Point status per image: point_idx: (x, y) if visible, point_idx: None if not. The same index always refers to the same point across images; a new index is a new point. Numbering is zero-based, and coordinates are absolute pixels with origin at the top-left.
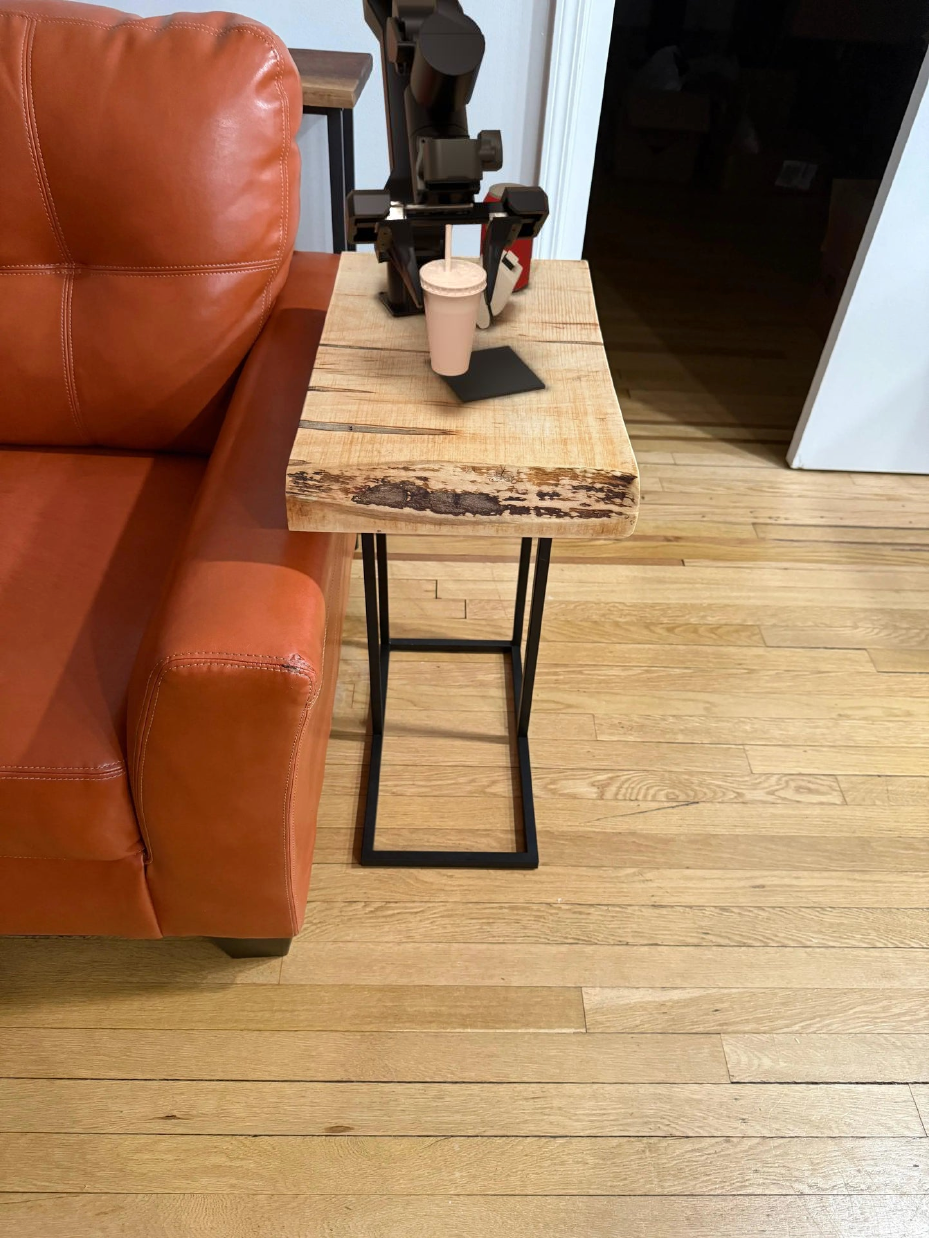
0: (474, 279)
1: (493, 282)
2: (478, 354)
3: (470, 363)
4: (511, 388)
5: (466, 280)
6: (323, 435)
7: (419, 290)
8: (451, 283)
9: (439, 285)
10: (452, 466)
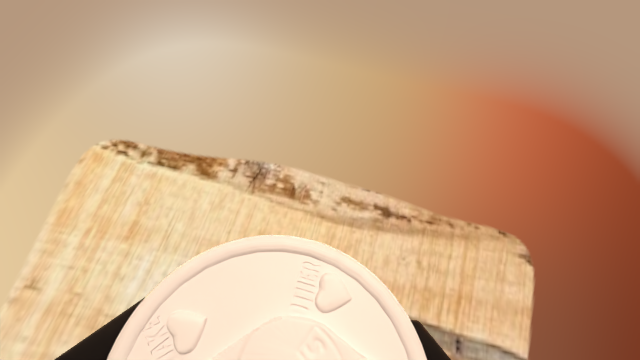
0: (190, 306)
1: (96, 339)
2: None
3: None
4: None
5: (230, 303)
6: (502, 332)
7: (426, 350)
8: (306, 288)
9: (365, 267)
10: (320, 204)
